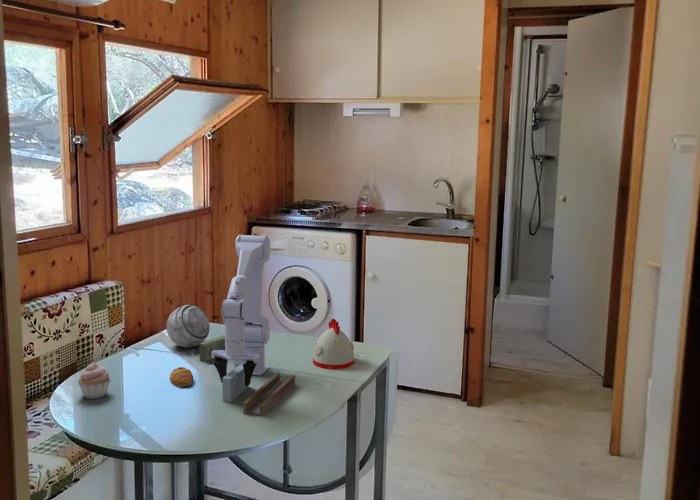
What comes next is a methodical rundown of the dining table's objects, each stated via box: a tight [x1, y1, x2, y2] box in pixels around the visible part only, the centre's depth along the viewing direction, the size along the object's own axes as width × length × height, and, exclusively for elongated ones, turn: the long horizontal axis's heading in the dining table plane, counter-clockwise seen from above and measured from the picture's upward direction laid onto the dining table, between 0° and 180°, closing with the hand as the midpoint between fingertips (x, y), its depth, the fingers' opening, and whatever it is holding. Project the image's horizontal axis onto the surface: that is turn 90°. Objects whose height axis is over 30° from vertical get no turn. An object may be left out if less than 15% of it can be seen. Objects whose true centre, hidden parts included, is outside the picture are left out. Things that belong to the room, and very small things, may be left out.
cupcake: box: [77, 362, 112, 400], centre depth 197 cm, size 9×9×10 cm
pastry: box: [169, 366, 194, 388], centre depth 209 cm, size 9×7×4 cm
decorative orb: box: [166, 304, 211, 348], centre depth 241 cm, size 15×14×15 cm
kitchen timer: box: [312, 318, 355, 370], centre depth 227 cm, size 14×14×15 cm
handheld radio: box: [199, 334, 225, 363], centre depth 236 cm, size 7×3×25 cm
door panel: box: [221, 364, 249, 403], centre depth 200 cm, size 2×12×7 cm, turn 164°
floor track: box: [242, 372, 296, 417], centre depth 197 cm, size 6×24×3 cm, turn 164°
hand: (235, 383), depth 200 cm, fingers open, 7 cm apart
